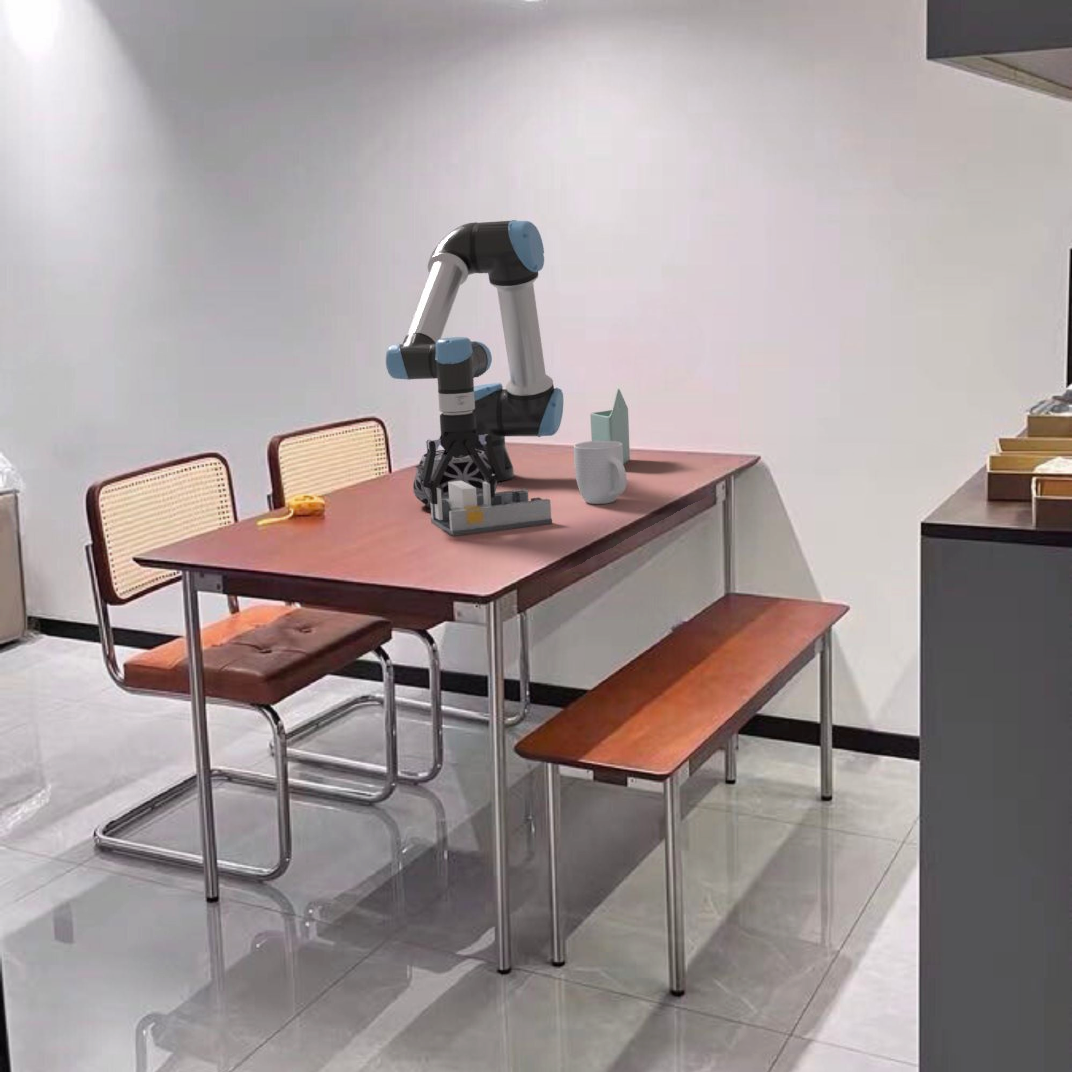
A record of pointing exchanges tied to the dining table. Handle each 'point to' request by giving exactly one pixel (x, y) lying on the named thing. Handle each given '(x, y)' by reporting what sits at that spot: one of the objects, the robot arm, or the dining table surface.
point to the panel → (461, 495)
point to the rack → (494, 514)
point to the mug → (599, 470)
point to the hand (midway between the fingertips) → (463, 515)
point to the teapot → (452, 475)
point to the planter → (613, 425)
